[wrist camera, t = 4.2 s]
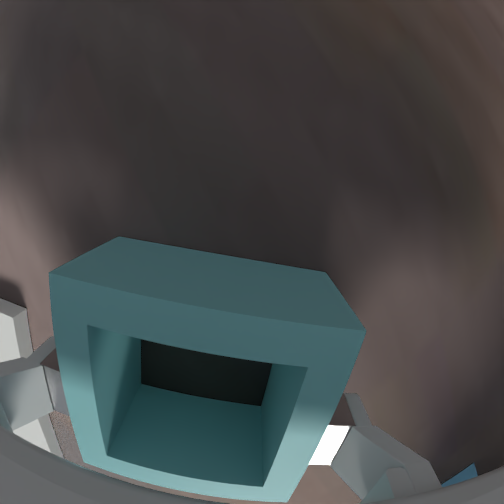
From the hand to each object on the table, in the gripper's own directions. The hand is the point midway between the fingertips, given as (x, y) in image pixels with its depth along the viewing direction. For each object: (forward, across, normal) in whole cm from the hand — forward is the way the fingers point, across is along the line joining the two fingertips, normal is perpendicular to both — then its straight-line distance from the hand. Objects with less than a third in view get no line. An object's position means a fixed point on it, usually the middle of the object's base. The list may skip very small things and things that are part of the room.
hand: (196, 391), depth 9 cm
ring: (+2, 0, 0) cm, 2 cm away
